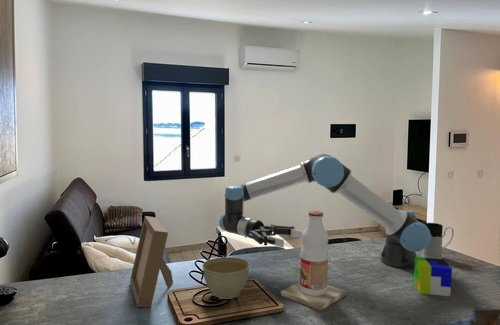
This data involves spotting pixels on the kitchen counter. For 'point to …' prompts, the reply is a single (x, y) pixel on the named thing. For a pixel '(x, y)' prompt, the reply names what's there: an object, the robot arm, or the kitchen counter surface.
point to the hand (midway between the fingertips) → (294, 239)
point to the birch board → (313, 301)
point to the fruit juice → (314, 257)
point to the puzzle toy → (432, 276)
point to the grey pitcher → (435, 241)
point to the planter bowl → (226, 276)
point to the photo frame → (149, 262)
